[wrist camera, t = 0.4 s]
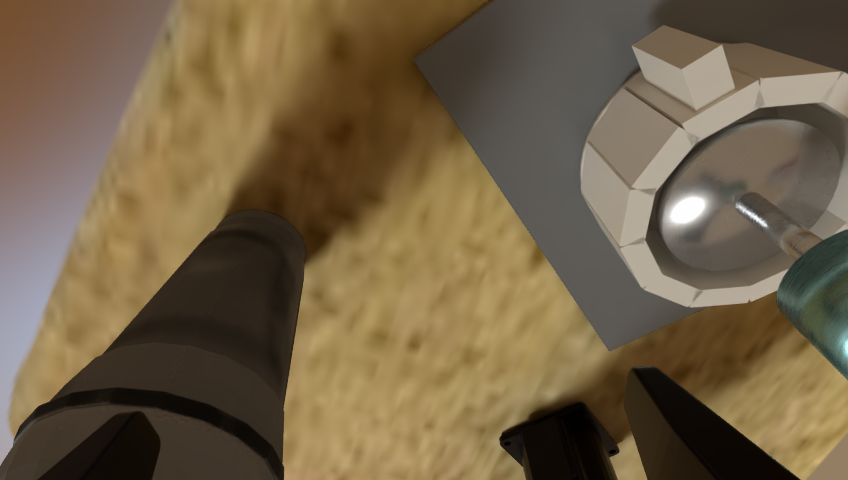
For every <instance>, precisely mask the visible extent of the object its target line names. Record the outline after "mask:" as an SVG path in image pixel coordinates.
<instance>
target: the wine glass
mask: <svg viewBox="0 0 848 480" xmlns="http://www.w3.org/2000/svg"><path fill="white" fill-rule="evenodd" d="M839 177H840V159H839V155H838V152H837V149H836V147H835V145H834V144H833V142H832V141H831V140H830V139H829V137H828V136H827V135H825V134H824V133H823V132H821V131H820V130H818V129H816V128H814V127H812V126H810V125H808V124H806V123H803V122H801V121H799V120H797V119H793V118H789V117H783V116H763V117H756V118H751V119H747V120H744V121H740V122H737V123H735V124H732V125H730V126H727V127H725V128H723V129H721V130H719V131H717V132H715V133H714V134H712V135H711V136H709V137H707V138H706V139H704V140H703V141H702V142H700V143H699V144H698V145H696V146H695V147H694V148H693V149H692V150H691V151H689V152H688V153H687V155H686V156H685V157H684V158H683V159H682V161H681V162H680V163H679V164H678V166H677V167H676V168H675V169H674V170H673V172H672V173H671V174H670V175H669V176H668V178H667V180H666V181H665V183H664V185H663V187H662V189H661V192H660V194H659V197H658V201H657V205H656V212H655V220H656V226H657V230H658V233H659V236H660V238H661V239H662V241H663V243H664V244H665V245H666V246H667V247H668V248H669V250H670V251H671V252H672V253H673V254H674V255H675V256H676V257H677V258H678V259H679V260H681V261H682V262H684V263H685V264H687V265H689V266H692V267H695V268H698V269H703V270H711V271H725V270H733V269H738V268H743V267H747V266H750V265H753V264H756V263H759V262H761V261H763V260H766V259H768V258H770V257H772V256H774V255H776V254H778V253H779V252H781V251H785V252H786V253H787V254H788V255H790V256H791V257H792V258H793V259H794V260H796V261H795V262H794V263H793V265H792V266H791V267H790V268H789V269H788V271H787V272H786V274H785V275H784V277H783V278H782V280H781V282H780V285H779V287H778V290H777V296H776V302H777V306H778V309H779V311H780V312H781V314H782V315H783V316H784V317H785V318H786V319H787V320H788V321H789V322H790V323H791V324H792V325H793V326H794V327H795V328H796V329H797V330H798V331H799V332H800V333H801V334H802V335H803V336H804V337H805V338H806V339H807V340H808V341H809V342H810V343H811V344H812V345H813V346H814V347H815V348H816V349H817V350H818V351H819V352H820V353H821V354H822V355H823V356H824V357H825V358H826V359H827V360H828V361H829V362H830V363H831V364H832V365H833V366H834V367H835V368H836V369H837V370H838V371H839V372H840V373H841V374H842V375H843V376H844V377H845V378H846V379H847V380H848V229H846V230H843V231H841V232H839V233H836V234H834V235H832V236H830V237H828V238H826V239H824V240H822V239H821V238H820V237H818V236H817V235H815V234H814V233H813V232H811V231H810V230H809V229H810V228H811V227H812V226H813V225H814V224H815V223H816V222H817V221H818V220H819V218H820V217H821V216H822V215H823V213H824V212H825V210H826V209H827V207H828V206H829V204H830V202H831V200H832V198H833V196H834V193H835V191H836V188H837V185H838V181H839Z"/></svg>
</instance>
